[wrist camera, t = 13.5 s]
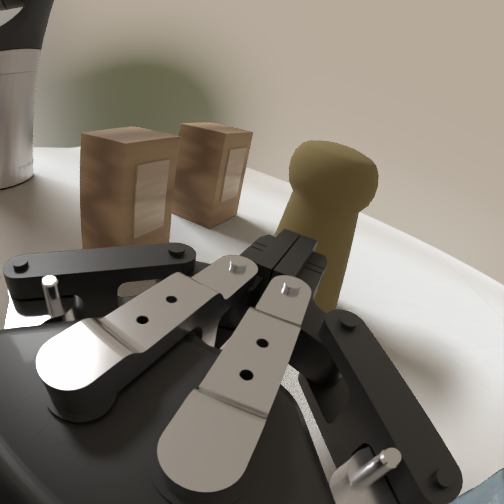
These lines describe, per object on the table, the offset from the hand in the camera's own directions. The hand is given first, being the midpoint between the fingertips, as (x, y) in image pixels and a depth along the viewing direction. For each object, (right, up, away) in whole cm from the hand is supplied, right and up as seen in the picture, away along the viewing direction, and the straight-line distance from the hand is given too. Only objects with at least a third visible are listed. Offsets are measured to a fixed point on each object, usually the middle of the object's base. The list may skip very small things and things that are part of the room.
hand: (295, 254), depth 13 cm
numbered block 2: (-7, +4, +18) cm, 20 cm away
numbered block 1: (-12, 0, +10) cm, 15 cm away
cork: (+1, -4, +8) cm, 9 cm away
